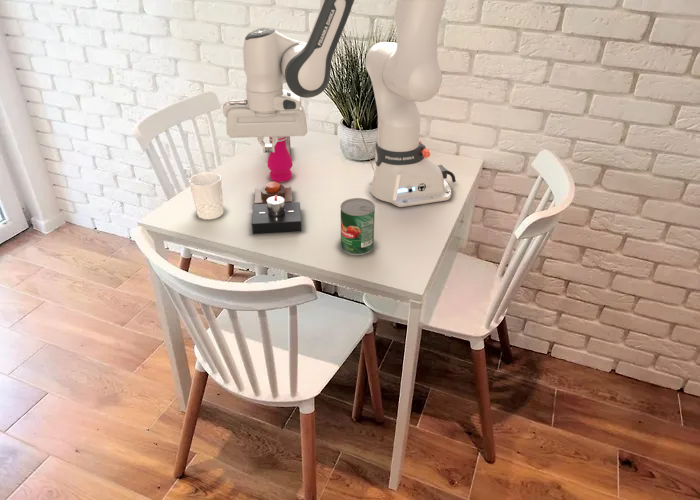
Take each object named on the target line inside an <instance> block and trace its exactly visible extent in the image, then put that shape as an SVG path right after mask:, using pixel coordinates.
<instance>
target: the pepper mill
mask: <svg viewBox="0 0 700 500" xmlns="http://www.w3.org/2000/svg"><path fill="white" fill-rule="evenodd" d="M269 139H270V140H271V144H272V142H273V140H272V137H268V140H269ZM286 139H287V136H283V137H278V141H277V143H276V145H275V146H274V149H275V152H273V153H269V155H268V158H267V168H268V170H269V178H270V180H271V181H272V182H278V183H284V182H289V181H290V180H291V179H292V177H293V176H292V175H293V173H292V170H291V169H292V168H293V159H292V155H291V156H290V154H289V152H288V150H287V148H286Z"/></svg>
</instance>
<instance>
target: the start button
mask: <svg viewBox="0 0 700 500" xmlns="http://www.w3.org/2000/svg"><path fill="white" fill-rule="evenodd" d="M279 184H280V182H276V181H269V182H267V183H265V185H266V191H267V192H269V193H275V192H279V191H280V187H279Z"/></svg>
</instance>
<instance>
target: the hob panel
mask: <svg viewBox="0 0 700 500" xmlns="http://www.w3.org/2000/svg"><path fill="white" fill-rule="evenodd" d="M301 215H302V214H301V202H300V201H294V202H293V201H292V202H290V203H285V214H284V215H282V216H278V217H274V216H270V215H269V214H268V209H267V204H254V203H253V205H252V217H251V218H252V219H251V229H252V234H253V235H263V234H281V233H282V234H283V233H299V232H300V233H301V232H303V231H302V216H301Z"/></svg>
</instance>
